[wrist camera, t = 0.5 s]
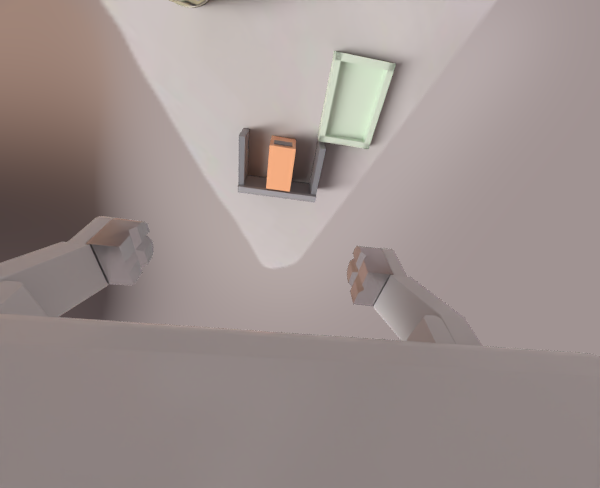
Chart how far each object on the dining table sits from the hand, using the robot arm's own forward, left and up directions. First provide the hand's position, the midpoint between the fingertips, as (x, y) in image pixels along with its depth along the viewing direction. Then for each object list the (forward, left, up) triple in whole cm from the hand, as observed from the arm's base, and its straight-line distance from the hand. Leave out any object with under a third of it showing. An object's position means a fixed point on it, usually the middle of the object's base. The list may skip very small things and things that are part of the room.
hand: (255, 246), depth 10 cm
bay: (+11, +1, -41) cm, 43 cm away
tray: (-1, +12, -41) cm, 43 cm away
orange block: (+11, +1, -41) cm, 43 cm away
